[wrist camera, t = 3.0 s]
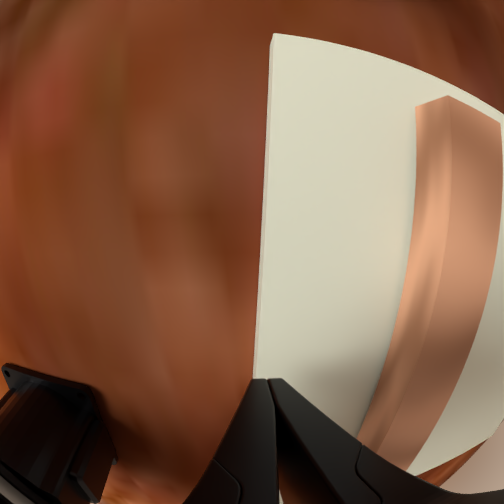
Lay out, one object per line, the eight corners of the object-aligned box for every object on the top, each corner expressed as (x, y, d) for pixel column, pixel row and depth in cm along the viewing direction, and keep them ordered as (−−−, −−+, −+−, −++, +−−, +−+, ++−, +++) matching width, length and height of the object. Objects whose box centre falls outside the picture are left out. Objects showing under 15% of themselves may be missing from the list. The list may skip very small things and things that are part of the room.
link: (376, 484, 13) (387, 508, 11) (318, 498, 13) (326, 525, 10) (476, 131, 9) (516, 127, 6) (402, 102, 8) (444, 86, 6)
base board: (243, 501, 14) (244, 511, 13) (270, 45, 9) (273, 33, 8) (488, 430, 16) (492, 435, 15) (561, 166, 11) (569, 167, 10)
